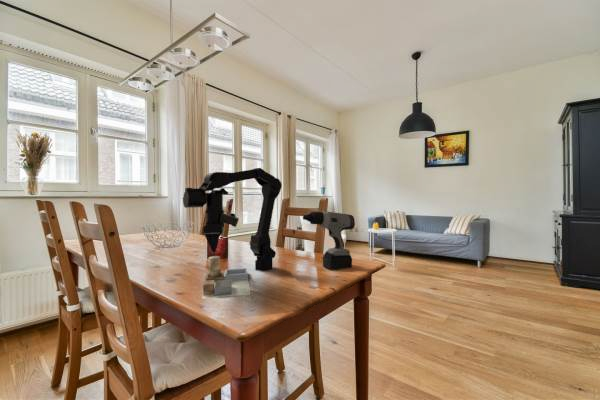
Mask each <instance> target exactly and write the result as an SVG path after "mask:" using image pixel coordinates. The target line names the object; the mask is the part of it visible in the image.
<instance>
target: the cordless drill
mask: <svg viewBox="0 0 600 400" xmlns="http://www.w3.org/2000/svg"><path fill="white" fill-rule="evenodd" d="M302 219H303V220H304V221H307V222H309V224H311V225H318V226H320V227H321V228H323V229H327V231H328V236H329V237H331V238H332V239H333V242H334V244H335V245H334V247H333V248H332V247H331V248H328V249H327V250H326V251H325V253H324V254H323V256H322V266H323V268H324V269H326V270H329V271H337V270H344V269H345V270H346V269H352V268H353V258H352V255H351V254H350V253H351V251H350V250H349V249H347V248H345V242H344V240H343V237H342V231H345V230H354V228H355V225H356V222H355V217H354V216H353V215H352V214H349V213H348V214H347V213H343V212H342V213H341V212H331V211H313V210H312V211H311V212H310V213H307V214H303V216H302Z"/></svg>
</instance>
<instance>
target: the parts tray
mask: <svg viewBox="0 0 600 400" xmlns="http://www.w3.org/2000/svg"><path fill="white" fill-rule="evenodd" d="M224 274H225V280H231V279H232V281H237V280H248V281H249V274H248V268H247V267H245V268H244V267H243V268H231V269H230V268H229V269H225V271H224Z"/></svg>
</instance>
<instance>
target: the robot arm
mask: <svg viewBox="0 0 600 400" xmlns="http://www.w3.org/2000/svg"><path fill="white" fill-rule="evenodd" d="M251 179H254V180H255V182H256V183H257V184H258V185H260V187H261V194H262V204H261V209H260V214H259V220H258V225H257V231H256V232H255V234H251V236H250V241H249V243H248V245H249V247H250V250H251V251H252V253H253V256H255V257H256V260H255V261H254V264H255V266H254V267H255V268H254V270H255V271H260V272H262V271H263V272H266V271H271V270H273V259H274V258H276V254H277V252H276V251H275V250H274V249H273V248H272V247H271V245H272V243H271V242H272V241H271V237H270V227H271V224H272V223H271V222H272V218H273V211H274V206H275V201H276V199H277V197H278V196H279V195H280V193H281V189H282V182H281V180H280V179H279V178H278V177H275V176H274V175H273V174H270V172H269V173H268V171H265V170H264V169H263V168H262V167H257V168H256V167H255V168H252V169H246V170H241V171H234V172H225V171H214V172H209V173H206V175H205V176H204V178H203V182H202V184H200V186H199V187H198V188H194V187H193V188H192V187H185V189H184V190H185V191H184V193H183V197H182V203H183V207H184V208H186V209H189V208H191V209H192V208H193V209H194V208H203V207H204V206H205V208H206V210H205V214H206V220H205V225H204V226H203V227H202V232H203V233H202V234H204V237H205V238H206V240H207V243H208V245H209V247H210V250H211V252H212V253H216V252H217V248H218V245H219V239H220V236H221V235H223V233H224V230H225V224H227V225H230V226H232V227H234V228H236V227H237V225H238V222H239V218H238V217H237V216H236V213H233V212H231V213H230V214H228V213H225V210H224V209H223V208H224V205H223V203H224V198H223V197H224V196H225V195H229V192H228V191H227V190H226V189H225V188H224V187H225V186H228V185H230V184H233V183H237V182H241V181H246V180H251Z"/></svg>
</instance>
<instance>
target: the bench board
mask: <svg viewBox="0 0 600 400" xmlns="http://www.w3.org/2000/svg"><path fill="white" fill-rule="evenodd" d="M224 280H225V273H224ZM215 283H216V282H214V294H211V295H202V298H201V299H202V300H206V299H216V298H225V297H226V298H229V297H237V296H249V295H251V291H250V285H249V279H248V280H237V281H232V294H231V295H220V296H215Z"/></svg>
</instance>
